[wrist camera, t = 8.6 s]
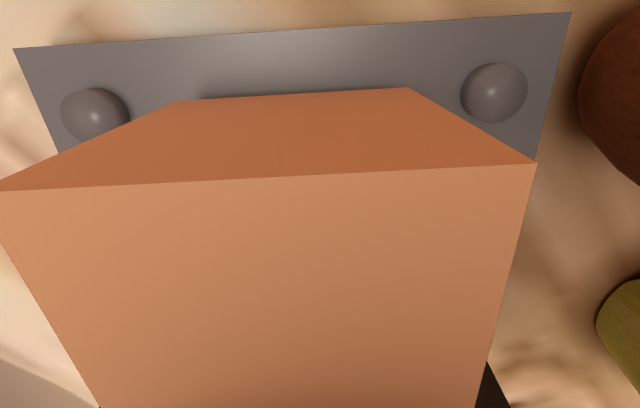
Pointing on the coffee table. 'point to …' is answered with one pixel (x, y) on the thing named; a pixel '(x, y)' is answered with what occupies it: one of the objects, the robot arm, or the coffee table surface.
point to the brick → (275, 252)
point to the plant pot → (623, 329)
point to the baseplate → (309, 72)
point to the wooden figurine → (614, 96)
